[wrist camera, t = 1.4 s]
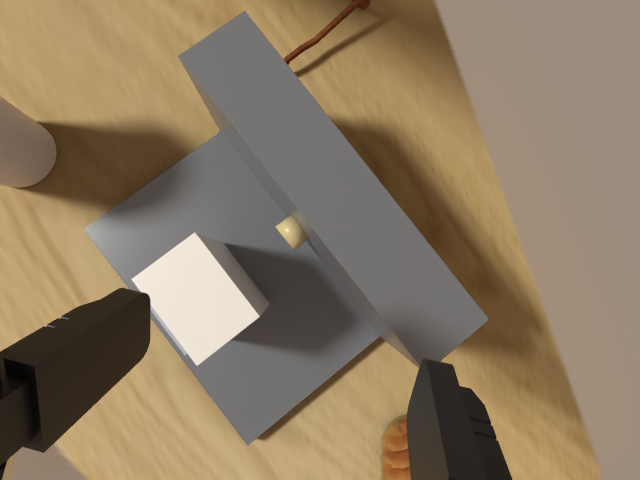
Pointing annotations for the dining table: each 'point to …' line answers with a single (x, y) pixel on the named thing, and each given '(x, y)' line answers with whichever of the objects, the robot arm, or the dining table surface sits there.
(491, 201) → the dining table surface
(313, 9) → the dining table surface
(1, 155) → the coffee cup
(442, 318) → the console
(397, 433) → the pastry
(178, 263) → the white box
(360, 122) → the dining table surface
